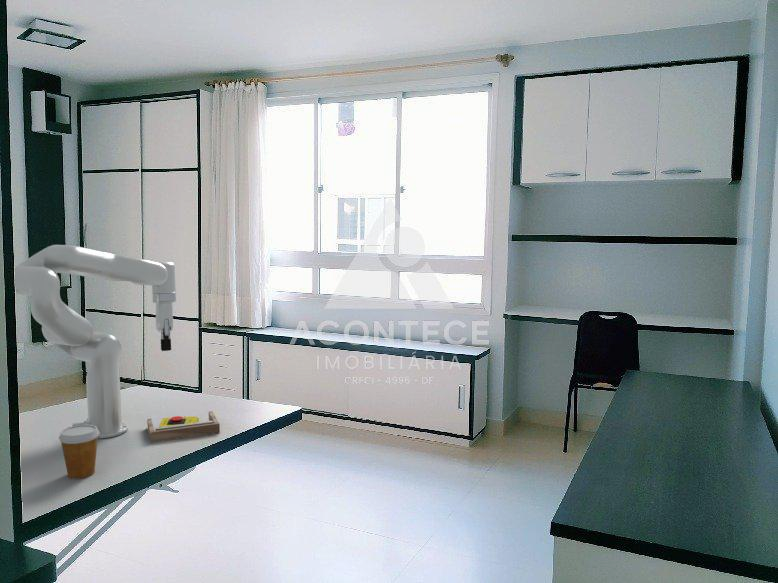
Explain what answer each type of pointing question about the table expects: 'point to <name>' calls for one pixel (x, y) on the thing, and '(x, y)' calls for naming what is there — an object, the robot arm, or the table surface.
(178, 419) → the emergency button
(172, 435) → the dock
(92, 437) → the disposable coffee cup
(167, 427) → the catch plate
